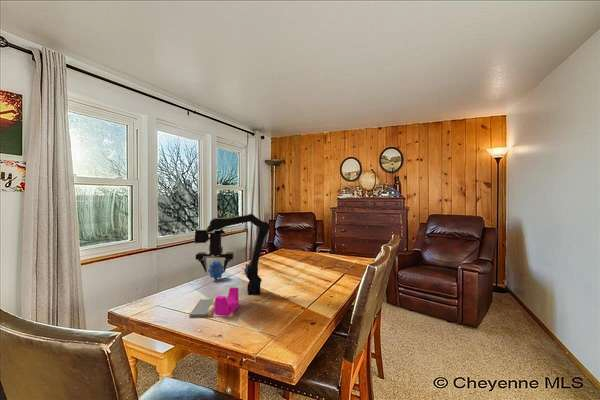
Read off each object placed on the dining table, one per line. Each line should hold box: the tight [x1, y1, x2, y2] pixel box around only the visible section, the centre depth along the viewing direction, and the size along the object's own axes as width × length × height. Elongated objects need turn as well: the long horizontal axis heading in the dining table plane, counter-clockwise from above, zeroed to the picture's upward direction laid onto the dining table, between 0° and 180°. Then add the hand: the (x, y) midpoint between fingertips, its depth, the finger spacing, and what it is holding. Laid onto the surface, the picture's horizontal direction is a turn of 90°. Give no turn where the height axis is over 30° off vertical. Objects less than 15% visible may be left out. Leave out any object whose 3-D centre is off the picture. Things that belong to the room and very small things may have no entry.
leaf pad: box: [211, 311, 234, 318], centre depth 132 cm, size 8×17×1 cm, turn 5°
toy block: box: [214, 286, 240, 317], centre depth 131 cm, size 15×6×8 cm, turn 166°
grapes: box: [207, 260, 225, 280], centre depth 177 cm, size 12×7×12 cm, turn 145°
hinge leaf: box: [188, 298, 215, 318], centre depth 132 cm, size 9×18×2 cm, turn 5°
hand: (215, 272), depth 146 cm, fingers open, 9 cm apart
